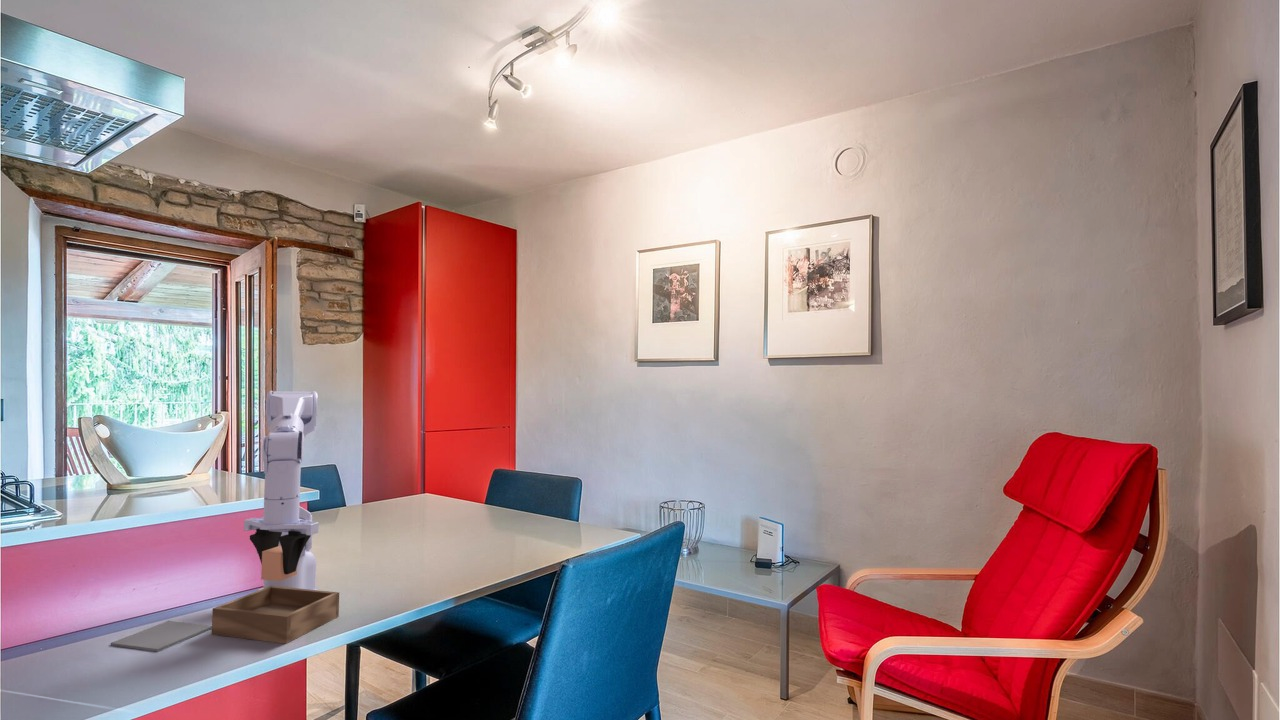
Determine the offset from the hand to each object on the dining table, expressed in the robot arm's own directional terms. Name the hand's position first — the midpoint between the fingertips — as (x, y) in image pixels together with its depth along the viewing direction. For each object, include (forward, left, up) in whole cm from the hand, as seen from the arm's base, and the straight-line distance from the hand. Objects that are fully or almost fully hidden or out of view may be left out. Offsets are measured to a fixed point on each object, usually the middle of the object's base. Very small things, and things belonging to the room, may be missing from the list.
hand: (279, 571), depth 112 cm
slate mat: (+9, -15, -10) cm, 20 cm away
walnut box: (0, 0, -10) cm, 10 cm away
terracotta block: (0, 0, -1) cm, 1 cm away
